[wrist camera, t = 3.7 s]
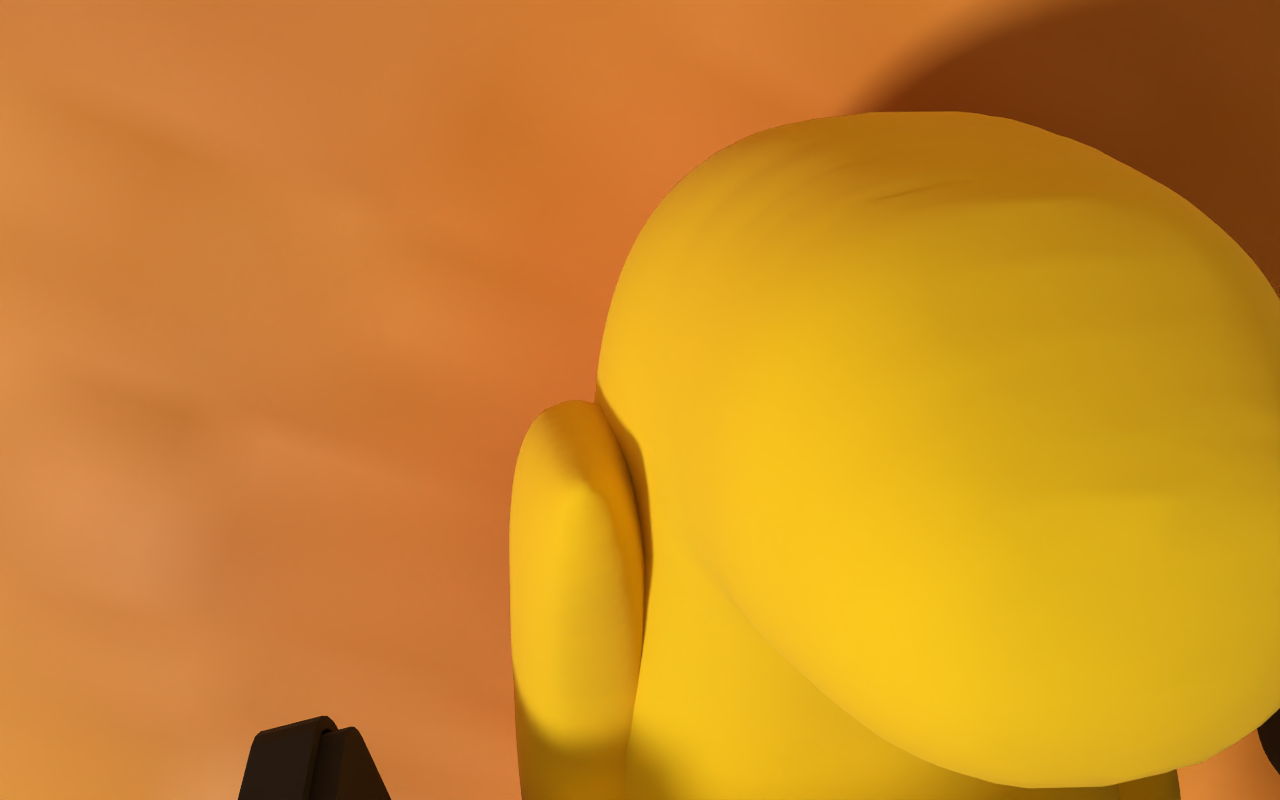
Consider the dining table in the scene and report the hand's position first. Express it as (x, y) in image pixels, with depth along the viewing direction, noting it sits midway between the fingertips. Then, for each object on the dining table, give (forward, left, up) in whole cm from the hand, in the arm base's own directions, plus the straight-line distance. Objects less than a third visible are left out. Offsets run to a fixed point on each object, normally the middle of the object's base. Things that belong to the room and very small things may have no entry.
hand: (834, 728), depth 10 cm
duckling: (0, 0, -3) cm, 3 cm away
